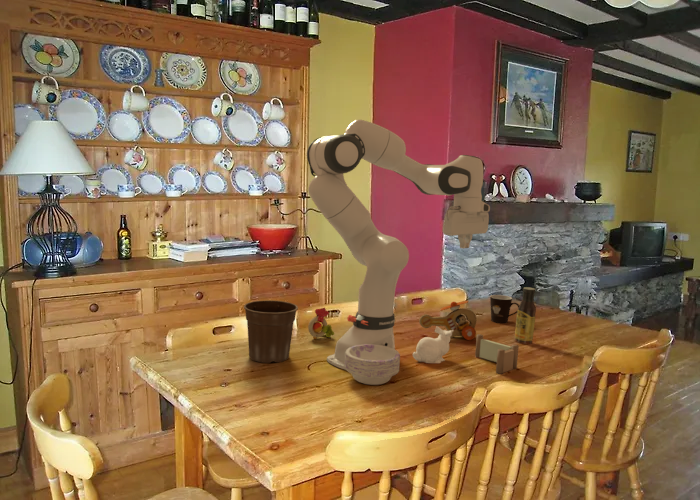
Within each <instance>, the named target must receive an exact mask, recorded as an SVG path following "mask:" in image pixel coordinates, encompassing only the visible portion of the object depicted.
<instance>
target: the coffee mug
mask: <svg viewBox="0 0 700 500" xmlns="http://www.w3.org/2000/svg"><path fill="white" fill-rule="evenodd" d="M489 298H490V299H489V300H490V301H489V303H490V319H491V320H490V321H491V322H492V323H495V324H507V323H508V322H509V318H510V317H511V316H514V315H515V314H516V315H517V310H515V312H513V313H510V312H511V307H512V306H513V305H516V306H517V309H518V308H519V305H520V304H519V303H517V302H512V301H513V297H512V296H508V295H503V294H493V295H492V294H491V295H490V296H489Z"/></svg>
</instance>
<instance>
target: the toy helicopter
mask: <svg viewBox="0 0 700 500" xmlns="http://www.w3.org/2000/svg"><path fill="white" fill-rule="evenodd" d="M465 304H469V300H462V301H458V302H456V301H452V302H451V303H450V305H446V306H443V307H441V308H439V311H441V312H442V311H445V310H448V309H450V311H451V312H449V313H448V314H447V315H445V316H443V315H442V316H431V315H430V314H428V313H427V314H422V315H421V316H420V317H419V320H418V321H419V325H420V326H421V327H422V328H424V329H430V328H431V327H436V326H438V327H445V330H446V331H450V330H454V331H453V332H452V336H450V339H452V338H454V337H463V339H464V340H467V341H472V340H474V339H475V338H476V337H477V332H476V329H475V327H476V325H477V315H476V313H475V312H474V311H473V310H470V309H468V308H465V307H464V308H461V305H465Z"/></svg>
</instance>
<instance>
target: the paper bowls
mask: <svg viewBox="0 0 700 500" xmlns="http://www.w3.org/2000/svg"><path fill="white" fill-rule="evenodd" d="M400 361H401V354H400V352H399V351H398V350H396V348H395V349H393V348H390V347H387V346H382V345H373V344H365V345H356V346H352V347H350V348H348V349H347V350H346V352H345V369H346V370H345V369H344V370H345V371H347V372H348V373H349V374H351V376H352V378H353V379H354V380H355V381H357V382H358V383H361V384H364V385H369V386H370V385H371V386H379V385H384V384H385V383H388V382H389V381H391V379H392V377H393V376H396V375H397V374H398V373H399V372H400Z"/></svg>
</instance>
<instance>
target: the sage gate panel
mask: <svg viewBox="0 0 700 500" xmlns="http://www.w3.org/2000/svg"><path fill="white" fill-rule="evenodd" d="M475 339H476V340H475V341H476V342H475V353H474V357H475V358H476V357H481V358H480V359H483V360H486V361H488V360H489V361H490V362H493V361H494V362H493V363H497V353H498V349H503V350H505V351H507V350H510V349H511V347H512V345H511V346H510V345H507V344H503V343H500V342H497V341H492V340H489V339H485V338H484V334H481V333H476V337H475Z"/></svg>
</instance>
